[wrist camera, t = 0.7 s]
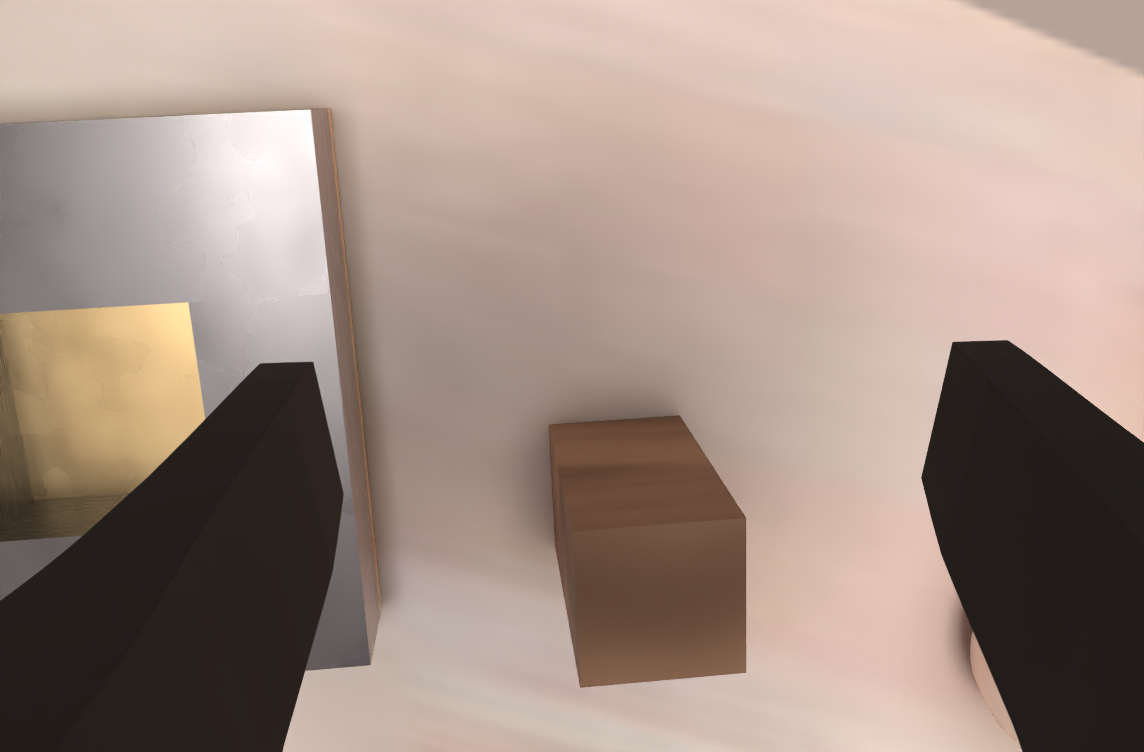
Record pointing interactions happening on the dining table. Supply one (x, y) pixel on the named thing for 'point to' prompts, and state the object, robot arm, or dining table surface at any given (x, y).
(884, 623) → the dining table surface
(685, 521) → the peg
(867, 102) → the dining table surface
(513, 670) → the dining table surface
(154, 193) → the block
